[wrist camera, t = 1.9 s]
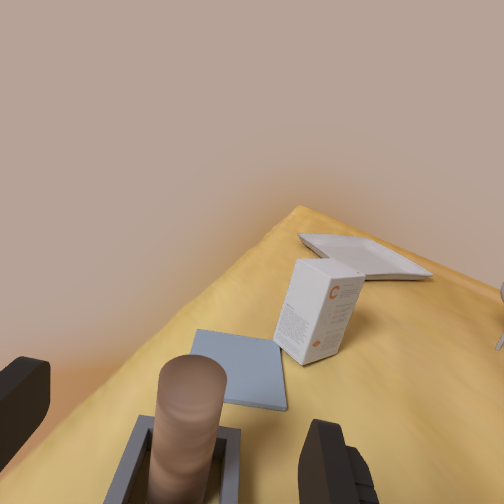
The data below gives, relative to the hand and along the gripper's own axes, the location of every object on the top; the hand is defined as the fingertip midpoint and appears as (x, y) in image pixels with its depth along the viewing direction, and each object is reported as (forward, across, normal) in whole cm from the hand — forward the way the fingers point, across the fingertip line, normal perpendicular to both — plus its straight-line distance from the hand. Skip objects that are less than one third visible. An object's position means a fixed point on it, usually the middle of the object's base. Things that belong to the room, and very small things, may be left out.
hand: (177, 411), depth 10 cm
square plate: (+79, -32, +18) cm, 87 cm away
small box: (+34, -12, +19) cm, 40 cm away
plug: (+11, 0, +20) cm, 22 cm away
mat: (+27, -2, +19) cm, 33 cm away
